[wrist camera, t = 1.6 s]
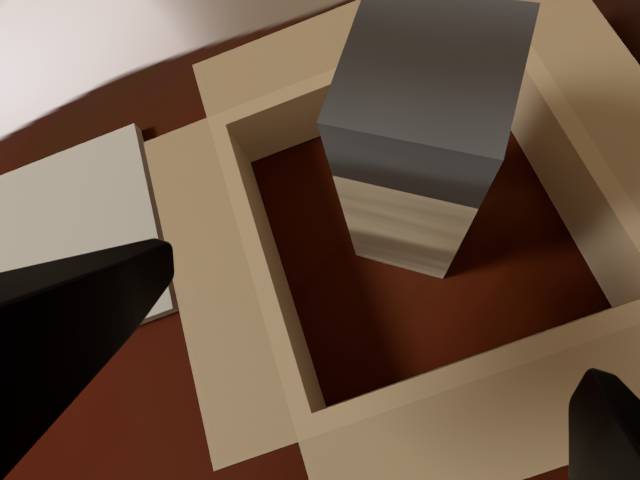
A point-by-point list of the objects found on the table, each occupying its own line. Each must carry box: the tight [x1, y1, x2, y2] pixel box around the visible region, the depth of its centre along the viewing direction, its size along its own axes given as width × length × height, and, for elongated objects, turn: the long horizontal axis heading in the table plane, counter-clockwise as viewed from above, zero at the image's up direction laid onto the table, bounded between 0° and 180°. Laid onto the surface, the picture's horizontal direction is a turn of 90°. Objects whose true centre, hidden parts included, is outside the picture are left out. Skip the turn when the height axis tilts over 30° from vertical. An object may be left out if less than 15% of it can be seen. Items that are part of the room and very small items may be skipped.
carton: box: [143, 0, 640, 480], centre depth 21 cm, size 23×23×4 cm
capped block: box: [317, 0, 540, 279], centre depth 17 cm, size 4×4×12 cm
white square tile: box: [0, 123, 179, 325], centre depth 25 cm, size 12×12×1 cm
